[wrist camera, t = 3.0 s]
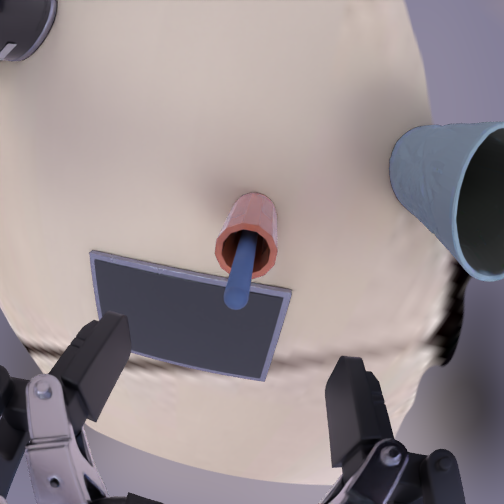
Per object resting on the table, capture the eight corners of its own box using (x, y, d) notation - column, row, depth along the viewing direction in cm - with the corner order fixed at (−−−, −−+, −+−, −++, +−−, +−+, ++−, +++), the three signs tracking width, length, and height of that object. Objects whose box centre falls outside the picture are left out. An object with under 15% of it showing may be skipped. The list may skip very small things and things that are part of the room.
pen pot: (229, 230, 26) (212, 273, 19) (235, 188, 25) (219, 218, 17) (271, 237, 26) (270, 284, 19) (280, 197, 25) (282, 229, 18)
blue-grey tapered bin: (379, 221, 25) (440, 291, 14) (377, 111, 21) (455, 110, 10) (463, 217, 24) (536, 272, 13) (466, 120, 19) (555, 135, 9)
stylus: (245, 221, 25) (220, 311, 14) (247, 208, 25) (223, 291, 13) (259, 223, 25) (245, 316, 14) (261, 210, 25) (249, 296, 13)
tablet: (106, 340, 35) (103, 344, 34) (92, 249, 28) (88, 253, 28) (264, 377, 35) (264, 382, 34) (291, 289, 29) (292, 294, 28)
